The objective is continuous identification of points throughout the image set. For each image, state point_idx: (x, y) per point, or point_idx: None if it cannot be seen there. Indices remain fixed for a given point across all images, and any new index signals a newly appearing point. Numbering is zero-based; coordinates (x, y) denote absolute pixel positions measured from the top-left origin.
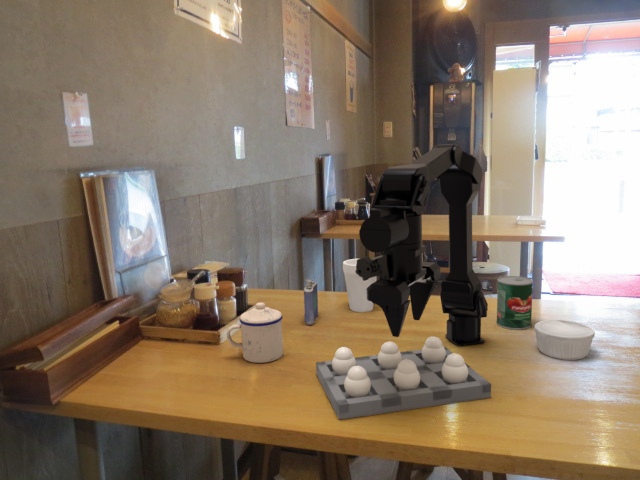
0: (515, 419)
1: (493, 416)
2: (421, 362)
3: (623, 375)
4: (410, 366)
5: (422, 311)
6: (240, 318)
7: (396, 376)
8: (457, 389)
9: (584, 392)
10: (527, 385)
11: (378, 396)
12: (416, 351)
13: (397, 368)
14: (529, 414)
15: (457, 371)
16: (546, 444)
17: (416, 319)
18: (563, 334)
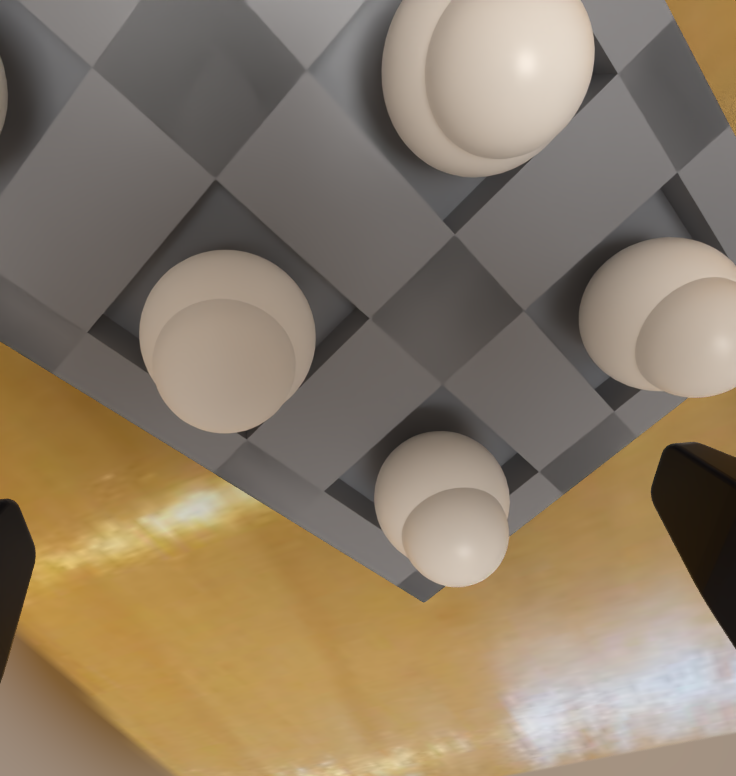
0: (296, 647)
1: (277, 604)
2: (548, 273)
3: (692, 727)
4: (191, 424)
5: (722, 622)
6: None
7: (147, 310)
8: (312, 531)
9: (556, 703)
10: (554, 603)
11: None
12: (719, 166)
13: (174, 319)
14: (350, 660)
15: (394, 546)
16: (204, 727)
17: (661, 477)
18: None
